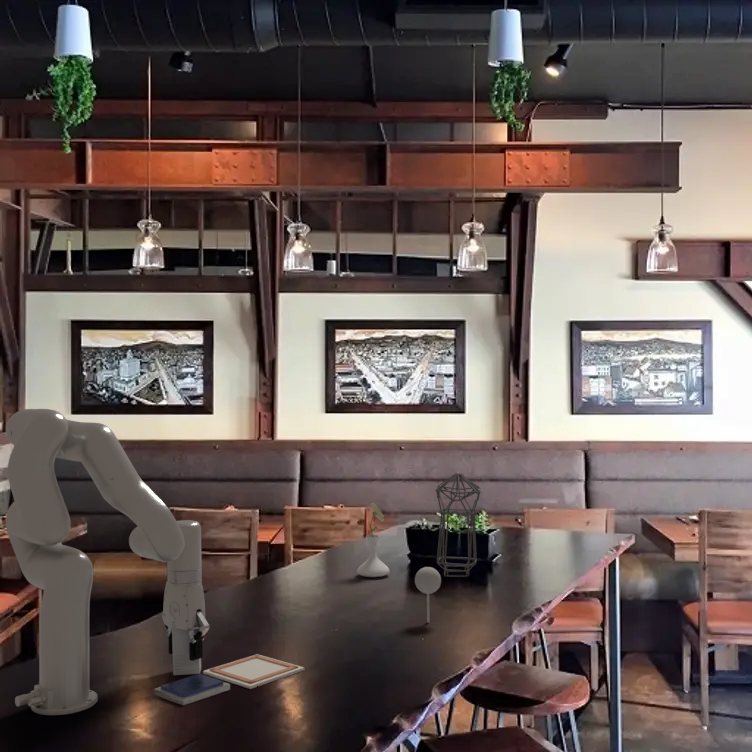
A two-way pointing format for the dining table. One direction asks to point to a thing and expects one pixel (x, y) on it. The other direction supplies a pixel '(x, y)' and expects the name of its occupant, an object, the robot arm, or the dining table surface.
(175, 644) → the skincare box
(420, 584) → the lollipop
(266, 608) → the dining table surface
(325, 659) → the dining table surface
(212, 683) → the ink pad
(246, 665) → the white square board
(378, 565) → the flower in vase
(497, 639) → the dining table surface
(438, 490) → the geometric lantern
